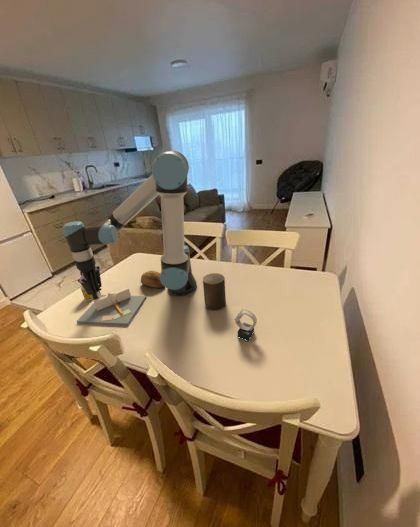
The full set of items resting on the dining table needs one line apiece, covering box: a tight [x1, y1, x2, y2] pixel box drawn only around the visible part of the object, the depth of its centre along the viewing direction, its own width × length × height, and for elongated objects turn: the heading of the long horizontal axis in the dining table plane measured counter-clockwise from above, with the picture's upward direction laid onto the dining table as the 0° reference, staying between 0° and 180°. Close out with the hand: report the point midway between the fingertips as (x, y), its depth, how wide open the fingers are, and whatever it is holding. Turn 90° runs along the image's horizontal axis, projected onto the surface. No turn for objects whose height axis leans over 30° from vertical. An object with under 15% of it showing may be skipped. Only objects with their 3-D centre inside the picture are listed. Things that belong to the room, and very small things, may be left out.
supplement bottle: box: [80, 283, 94, 302], centre depth 119 cm, size 5×5×10 cm
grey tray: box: [76, 294, 147, 327], centre depth 110 cm, size 24×20×1 cm
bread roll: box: [140, 270, 164, 289], centre depth 126 cm, size 10×15×8 cm, turn 65°
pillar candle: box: [202, 272, 227, 311], centre depth 106 cm, size 10×10×15 cm
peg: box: [93, 287, 132, 314], centre depth 108 cm, size 16×13×6 cm
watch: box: [234, 309, 258, 341], centre depth 88 cm, size 6×8×11 cm
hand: (99, 303), depth 111 cm, fingers closed
